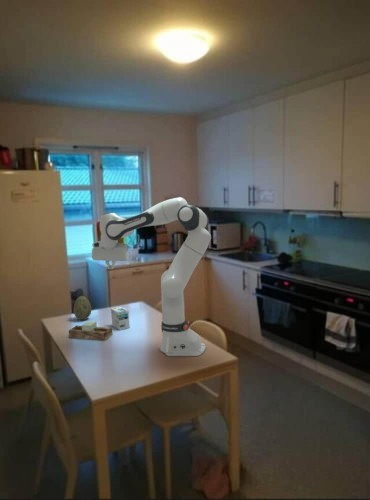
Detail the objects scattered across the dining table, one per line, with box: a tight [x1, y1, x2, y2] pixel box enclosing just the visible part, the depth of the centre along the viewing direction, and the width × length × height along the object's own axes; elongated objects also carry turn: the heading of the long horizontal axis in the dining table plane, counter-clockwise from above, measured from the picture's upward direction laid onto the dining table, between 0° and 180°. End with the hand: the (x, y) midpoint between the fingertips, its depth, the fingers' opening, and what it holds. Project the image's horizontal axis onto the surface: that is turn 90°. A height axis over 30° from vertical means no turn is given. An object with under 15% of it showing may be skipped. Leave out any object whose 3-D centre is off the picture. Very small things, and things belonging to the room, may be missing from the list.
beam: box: [68, 324, 113, 341], centre depth 210 cm, size 22×8×4 cm, turn 75°
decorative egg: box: [72, 295, 92, 321], centre depth 238 cm, size 11×11×15 cm
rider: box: [81, 320, 98, 331], centre depth 210 cm, size 5×7×5 cm
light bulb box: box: [110, 305, 130, 331], centre depth 224 cm, size 11×7×11 cm, turn 34°
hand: (110, 268), depth 207 cm, fingers closed
